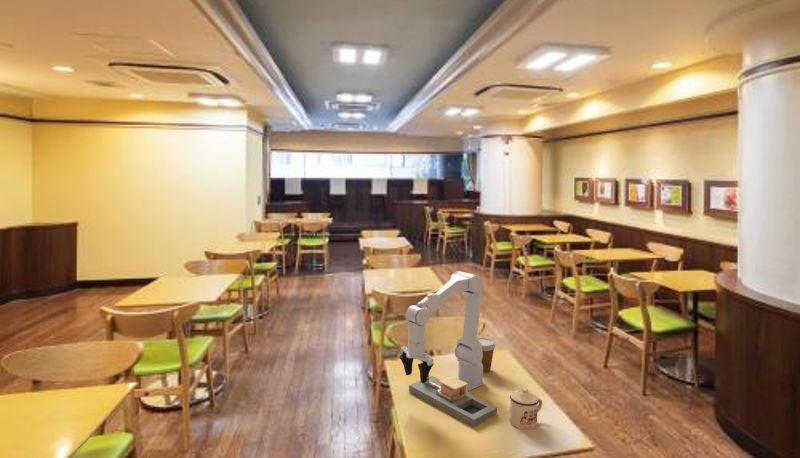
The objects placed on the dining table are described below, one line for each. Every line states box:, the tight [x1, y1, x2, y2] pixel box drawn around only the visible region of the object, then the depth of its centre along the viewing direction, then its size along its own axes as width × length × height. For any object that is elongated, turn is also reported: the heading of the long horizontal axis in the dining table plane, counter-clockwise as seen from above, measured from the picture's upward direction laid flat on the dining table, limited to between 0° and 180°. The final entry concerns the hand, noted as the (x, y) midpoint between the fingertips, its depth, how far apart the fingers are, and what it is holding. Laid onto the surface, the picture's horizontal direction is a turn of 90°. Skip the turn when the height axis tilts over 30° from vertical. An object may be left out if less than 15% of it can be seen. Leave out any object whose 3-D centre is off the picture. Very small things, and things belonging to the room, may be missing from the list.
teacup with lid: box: [509, 387, 543, 430], centre depth 156 cm, size 12×9×12 cm
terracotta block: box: [441, 385, 460, 398], centre depth 168 cm, size 5×4×4 cm
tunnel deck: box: [408, 375, 498, 428], centre depth 168 cm, size 31×12×7 cm, turn 41°
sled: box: [424, 373, 465, 402], centre depth 172 cm, size 18×6×6 cm, turn 41°
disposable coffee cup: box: [477, 337, 496, 374], centre depth 195 cm, size 10×10×12 cm
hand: (416, 378), depth 165 cm, fingers open, 7 cm apart
